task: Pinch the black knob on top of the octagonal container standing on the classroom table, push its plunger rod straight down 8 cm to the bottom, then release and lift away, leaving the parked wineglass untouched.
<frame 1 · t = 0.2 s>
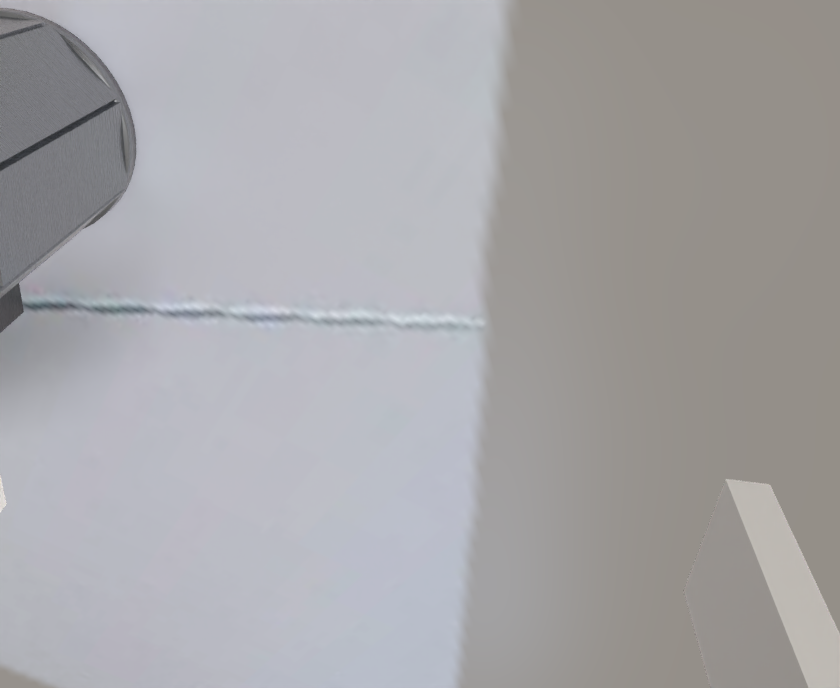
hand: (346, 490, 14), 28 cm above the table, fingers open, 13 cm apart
octagonal container: (27, 126, 40), on the table
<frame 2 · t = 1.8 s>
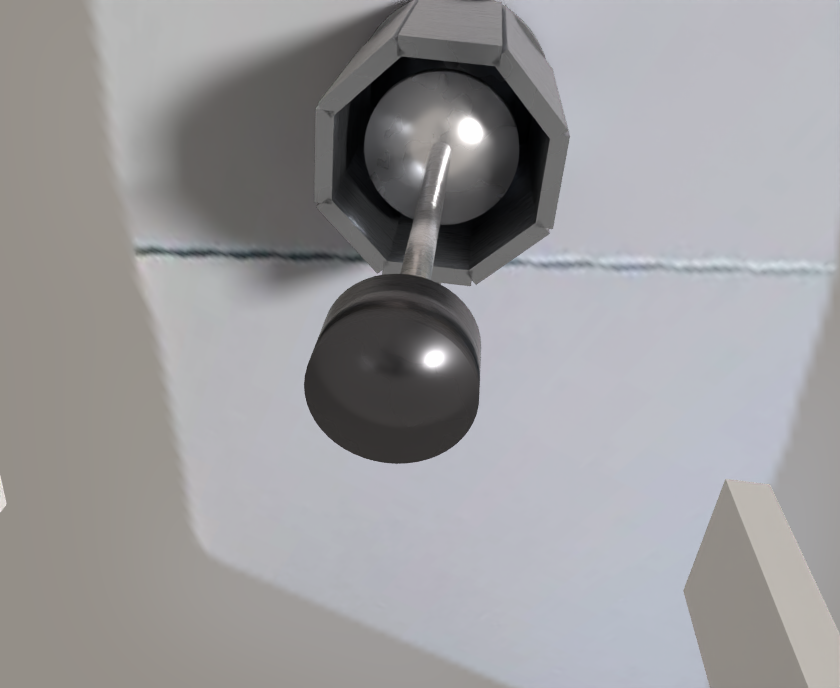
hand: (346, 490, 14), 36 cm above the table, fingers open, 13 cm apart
plunger: (424, 232, 29), point 20 cm above the table, slide at 0.0 cm
octagonal container: (452, 96, 46), on the table
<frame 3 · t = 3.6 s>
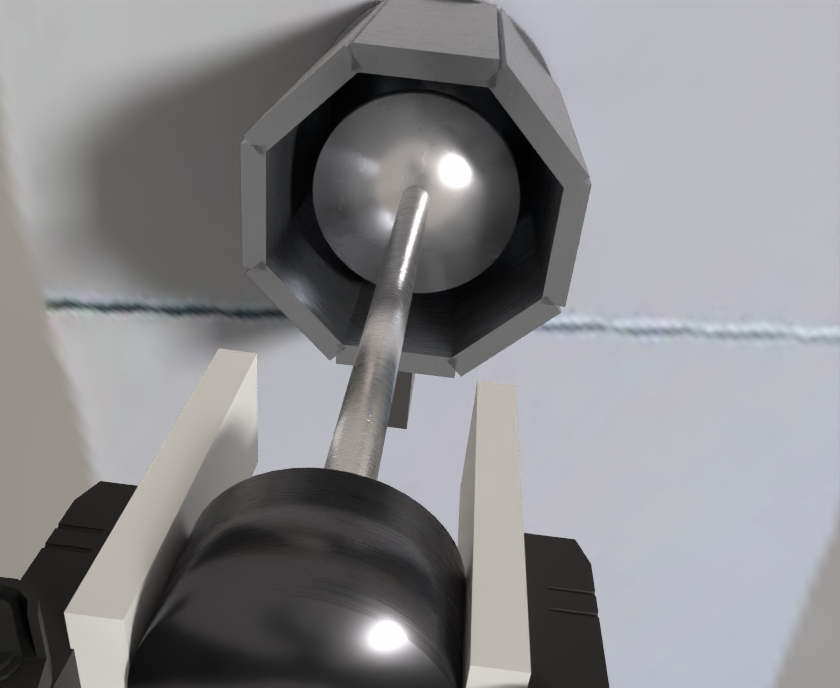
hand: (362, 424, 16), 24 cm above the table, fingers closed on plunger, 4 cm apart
plunger: (383, 333, 19), point 20 cm above the table, slide at 0.0 cm, touching gripper
octagonal container: (433, 122, 36), on the table
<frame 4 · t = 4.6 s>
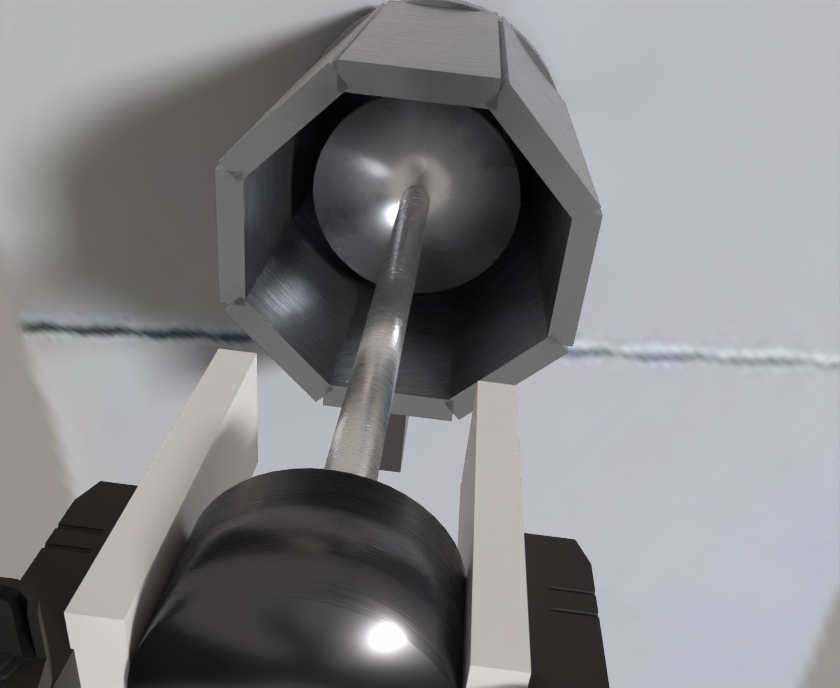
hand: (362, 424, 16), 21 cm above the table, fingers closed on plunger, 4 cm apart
plunger: (384, 333, 19), point 17 cm above the table, slide at 2.6 cm, touching gripper
octagonal container: (430, 137, 34), on the table
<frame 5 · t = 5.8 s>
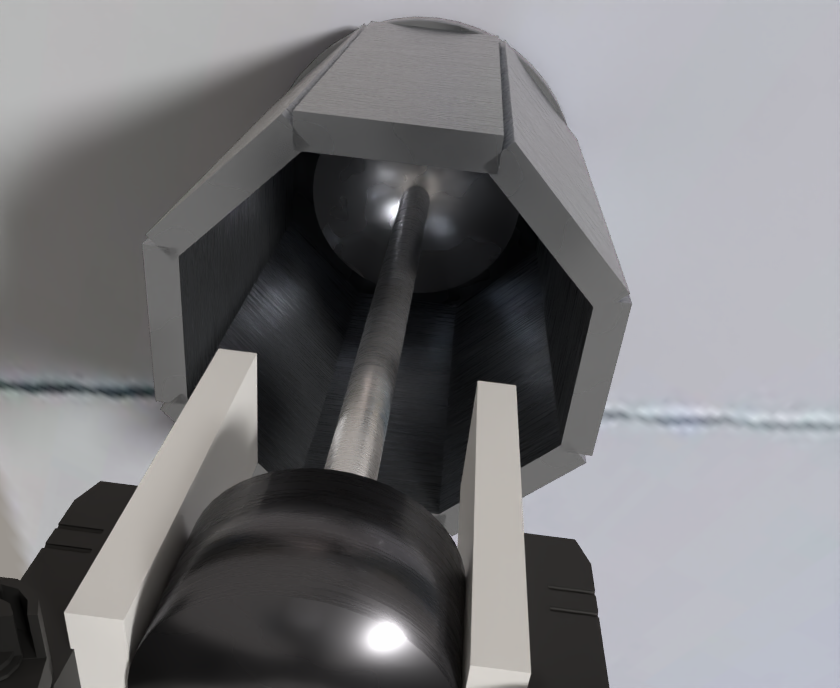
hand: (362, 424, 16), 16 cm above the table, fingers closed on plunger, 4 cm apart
plunger: (384, 333, 19), point 12 cm above the table, slide at 7.9 cm, touching gripper
octagonal container: (421, 177, 30), on the table
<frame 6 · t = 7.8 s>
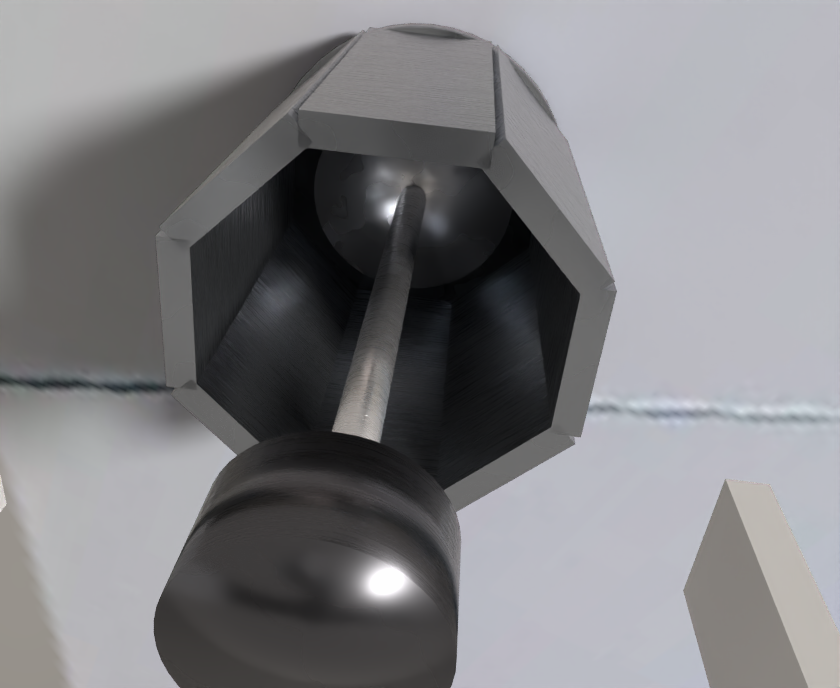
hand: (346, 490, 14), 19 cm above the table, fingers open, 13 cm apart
plunger: (383, 320, 20), point 12 cm above the table, slide at 8.0 cm
octagonal container: (417, 177, 31), on the table
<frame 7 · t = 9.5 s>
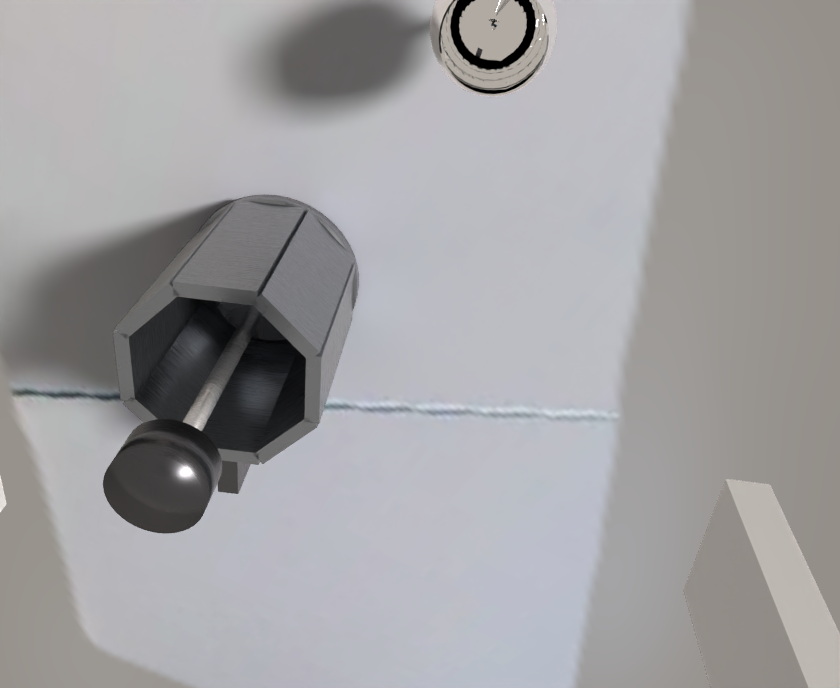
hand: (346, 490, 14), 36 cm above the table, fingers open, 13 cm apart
plunger: (224, 368, 43), point 12 cm above the table, slide at 8.0 cm
wineglass: (491, 4, 44), on the table
octagonal container: (275, 275, 53), on the table
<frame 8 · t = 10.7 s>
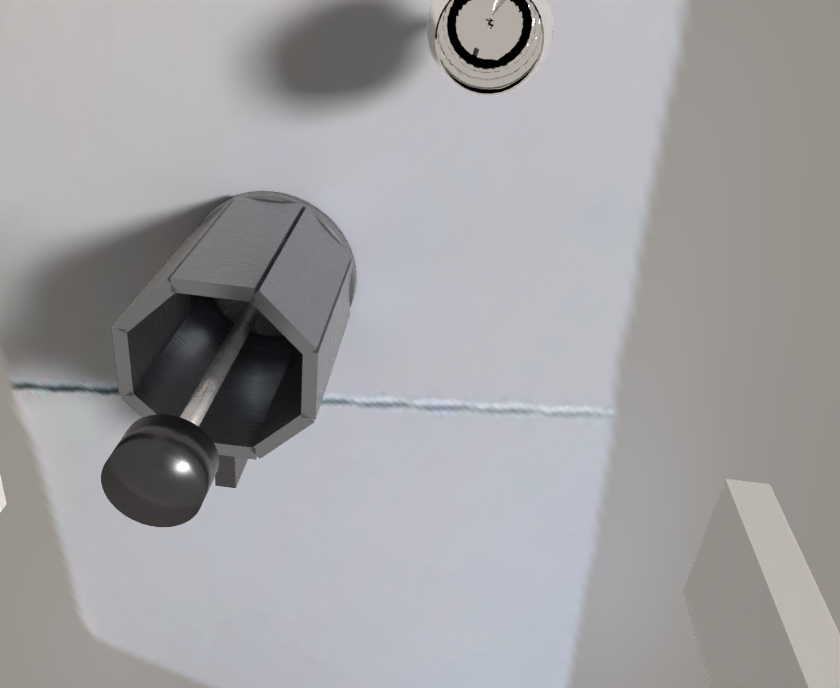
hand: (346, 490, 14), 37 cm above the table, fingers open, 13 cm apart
plunger: (221, 363, 43), point 12 cm above the table, slide at 8.0 cm
wineglass: (489, 3, 44), on the table
octagonal container: (273, 271, 53), on the table
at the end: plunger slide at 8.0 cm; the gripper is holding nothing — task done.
